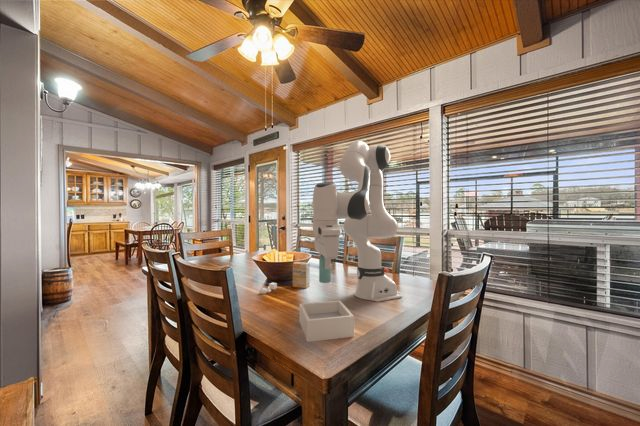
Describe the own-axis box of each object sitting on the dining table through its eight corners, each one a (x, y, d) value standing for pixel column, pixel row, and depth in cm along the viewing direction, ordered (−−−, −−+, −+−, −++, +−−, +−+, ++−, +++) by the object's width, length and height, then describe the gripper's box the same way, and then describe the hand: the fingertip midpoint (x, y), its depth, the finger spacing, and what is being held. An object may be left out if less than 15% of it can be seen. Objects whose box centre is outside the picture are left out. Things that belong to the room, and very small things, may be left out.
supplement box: (292, 287, 154) (292, 263, 153) (296, 284, 158) (295, 261, 158) (306, 288, 151) (306, 264, 150) (310, 286, 155) (309, 262, 155)
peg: (328, 279, 105) (328, 255, 104) (331, 282, 101) (331, 257, 101) (318, 280, 104) (318, 255, 104) (320, 283, 100) (320, 257, 100)
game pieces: (271, 288, 153) (271, 282, 153) (277, 289, 152) (277, 283, 152) (259, 294, 142) (259, 288, 142) (264, 295, 141) (264, 288, 141)
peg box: (340, 318, 113) (340, 300, 112) (354, 336, 97) (354, 316, 97) (299, 322, 109) (299, 303, 109) (307, 341, 93) (307, 320, 93)
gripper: (310, 226, 111) (310, 261, 112) (323, 231, 91) (323, 274, 92) (326, 225, 113) (326, 260, 113) (342, 230, 93) (342, 273, 93)
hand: (325, 267), depth 102 cm, fingers closed on peg, 4 cm apart
